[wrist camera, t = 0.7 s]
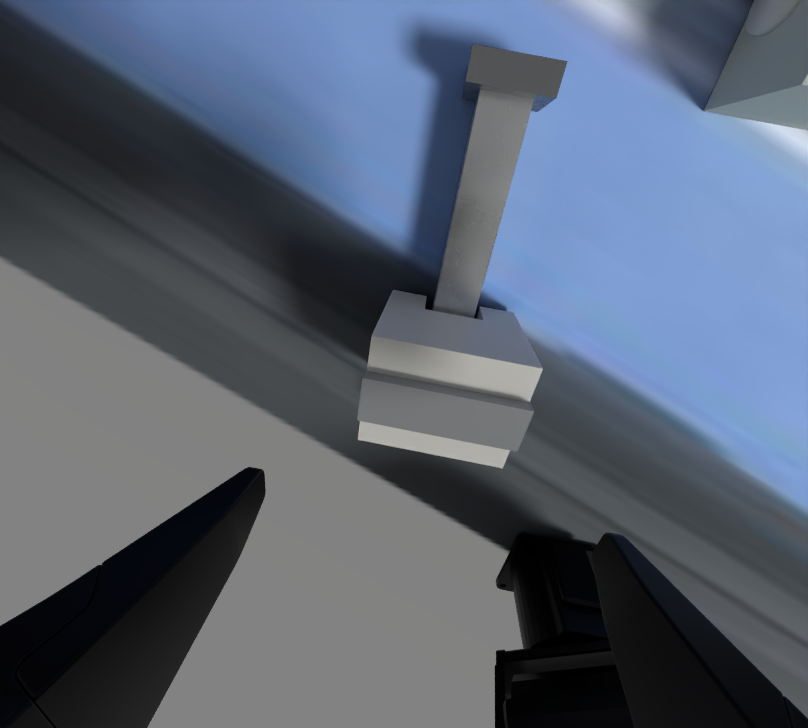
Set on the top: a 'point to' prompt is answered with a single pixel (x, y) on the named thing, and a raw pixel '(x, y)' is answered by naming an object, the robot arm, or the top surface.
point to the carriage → (448, 382)
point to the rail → (489, 164)
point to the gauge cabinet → (767, 67)
